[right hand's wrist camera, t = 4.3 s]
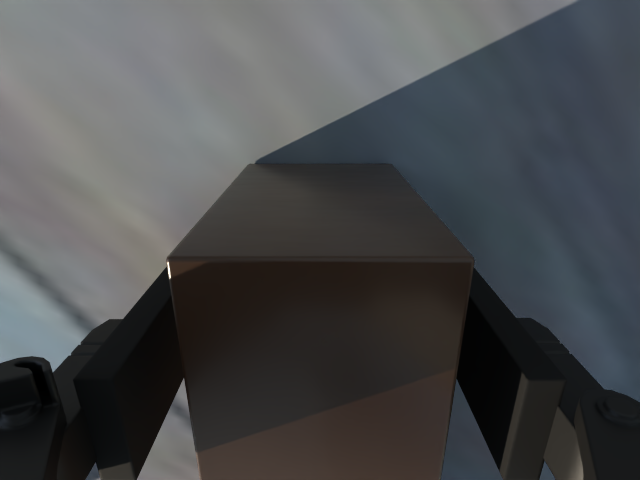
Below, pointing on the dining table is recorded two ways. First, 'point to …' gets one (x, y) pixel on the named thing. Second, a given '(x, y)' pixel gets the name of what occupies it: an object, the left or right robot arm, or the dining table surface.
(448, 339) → the plank
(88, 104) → the dining table surface
